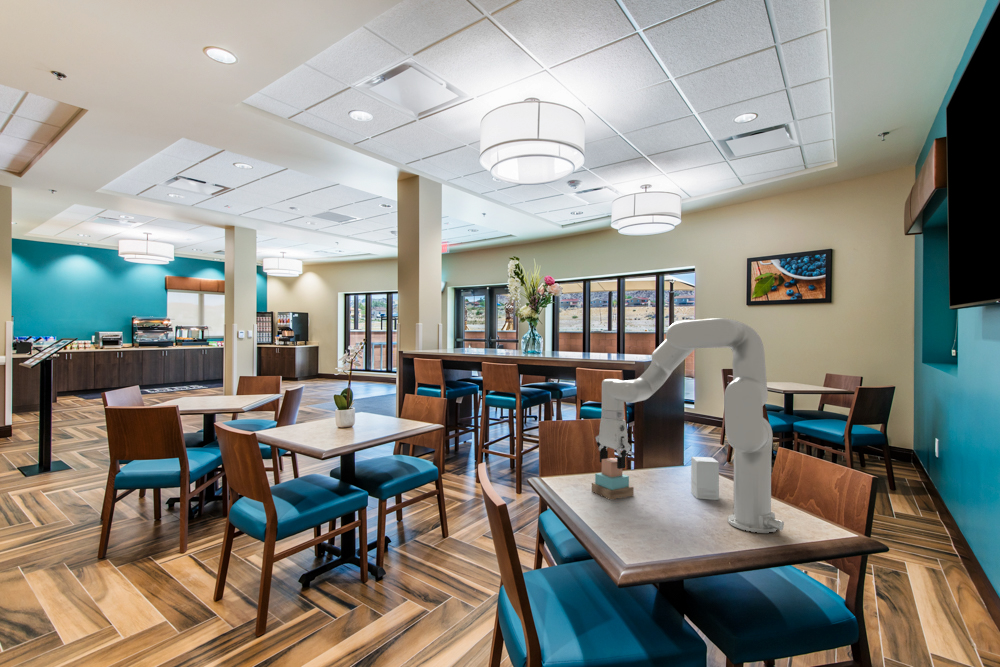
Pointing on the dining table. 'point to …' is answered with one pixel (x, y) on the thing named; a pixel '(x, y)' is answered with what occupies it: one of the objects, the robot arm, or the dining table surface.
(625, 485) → the teal top slab
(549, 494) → the dining table surface
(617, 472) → the salmon orange cube
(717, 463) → the supplement box
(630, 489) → the walnut base slab
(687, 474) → the dining table surface
